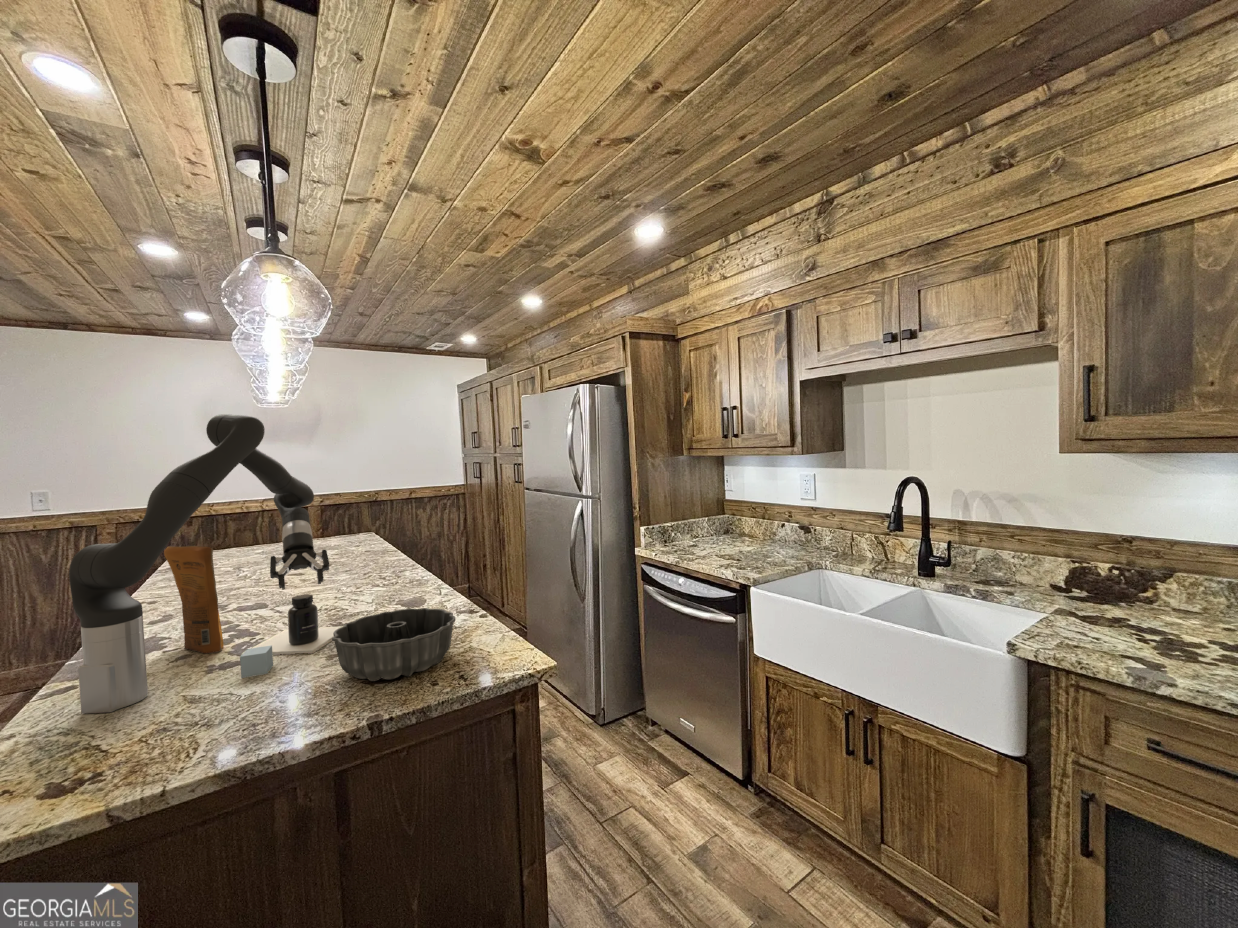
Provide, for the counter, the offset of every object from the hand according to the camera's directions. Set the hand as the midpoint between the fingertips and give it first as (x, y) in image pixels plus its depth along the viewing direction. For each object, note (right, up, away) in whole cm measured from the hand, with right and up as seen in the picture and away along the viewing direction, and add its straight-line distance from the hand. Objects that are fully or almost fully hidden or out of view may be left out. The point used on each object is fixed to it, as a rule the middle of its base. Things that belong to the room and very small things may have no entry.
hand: (301, 585), depth 143 cm
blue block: (+3, -15, -22) cm, 27 cm away
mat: (+1, -15, -3) cm, 15 cm away
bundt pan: (+36, -14, -22) cm, 45 cm away
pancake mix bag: (-24, -16, -5) cm, 29 cm away
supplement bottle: (+4, -14, -5) cm, 15 cm away
